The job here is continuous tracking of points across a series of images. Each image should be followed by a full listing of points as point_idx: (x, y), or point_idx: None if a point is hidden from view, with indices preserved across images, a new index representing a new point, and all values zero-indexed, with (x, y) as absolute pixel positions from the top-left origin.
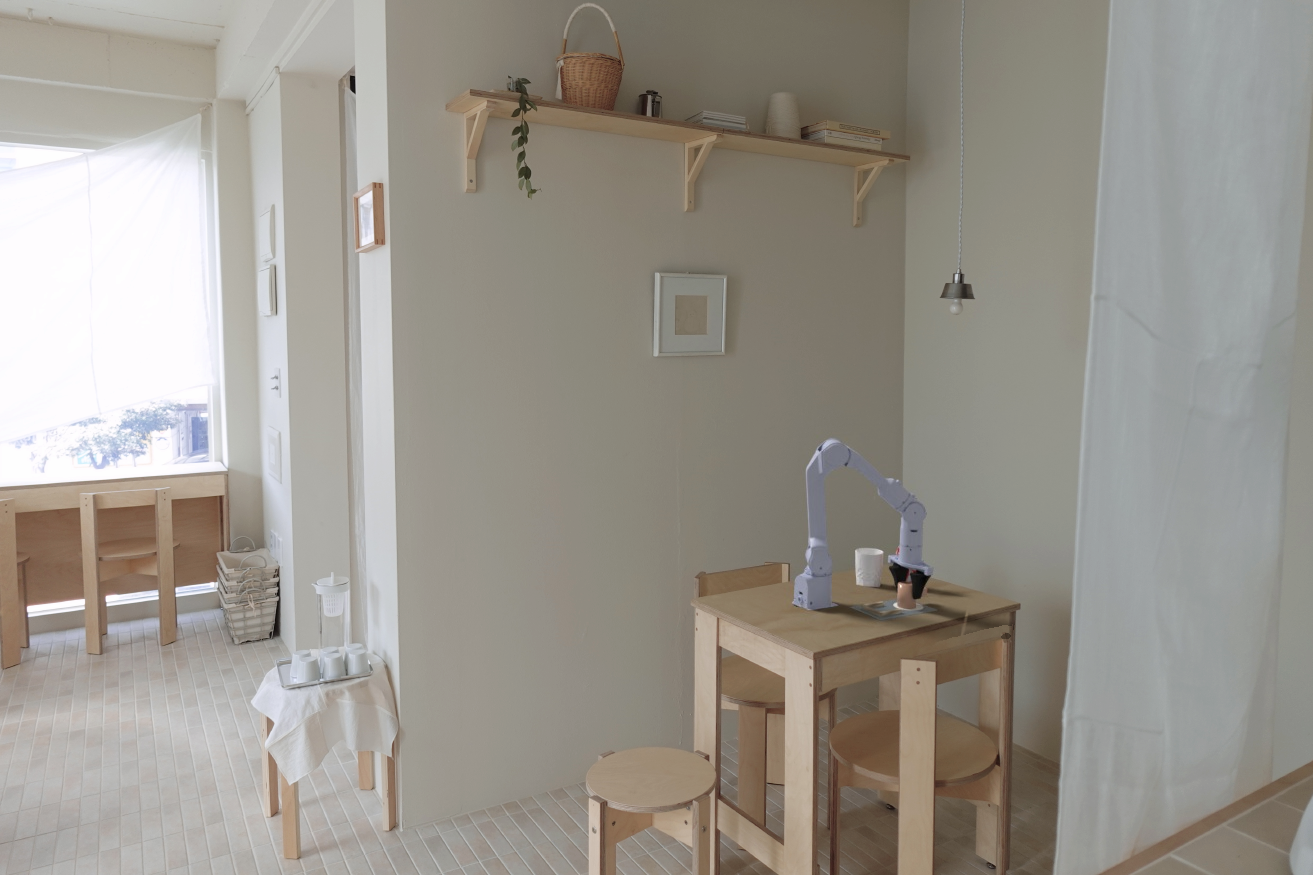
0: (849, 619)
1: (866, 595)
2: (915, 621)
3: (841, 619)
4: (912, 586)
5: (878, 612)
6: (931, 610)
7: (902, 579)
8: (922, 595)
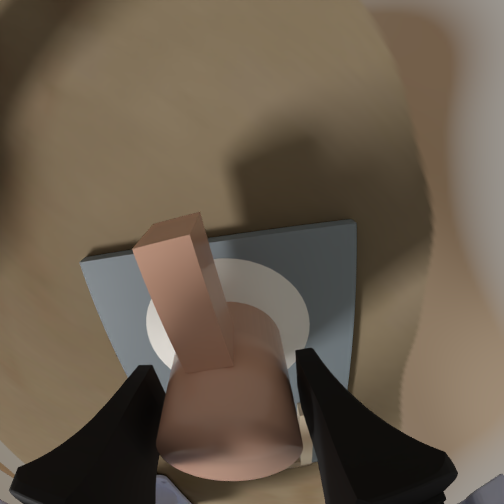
0: (272, 485)
1: (32, 362)
2: (388, 376)
3: (265, 492)
4: (319, 461)
5: (301, 465)
6: (346, 263)
7: (133, 447)
8: (212, 266)
